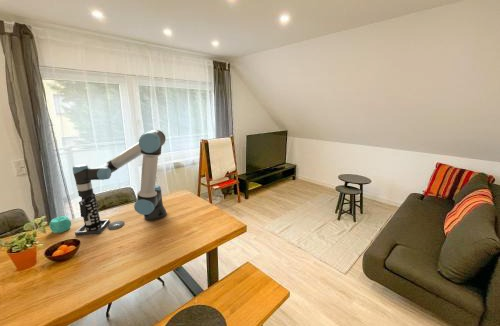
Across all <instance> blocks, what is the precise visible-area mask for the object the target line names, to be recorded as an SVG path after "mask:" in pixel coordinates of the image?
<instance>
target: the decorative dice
mask: <svg viewBox="0 0 500 326" xmlns="http://www.w3.org/2000/svg"><path fill="white" fill-rule="evenodd" d="M48 227H49V229H50V230H51V232H53V234H62V233H64V231H65V232H66V231H67V232H68V230H70V228H71V227H72V222H71V219H70V218H69V217H68V216H66V215H65V216H64V215H61V216H57V217H54V218H52V219H51V220H50V222H49V226H48ZM61 232H62V233H61Z"/></svg>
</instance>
